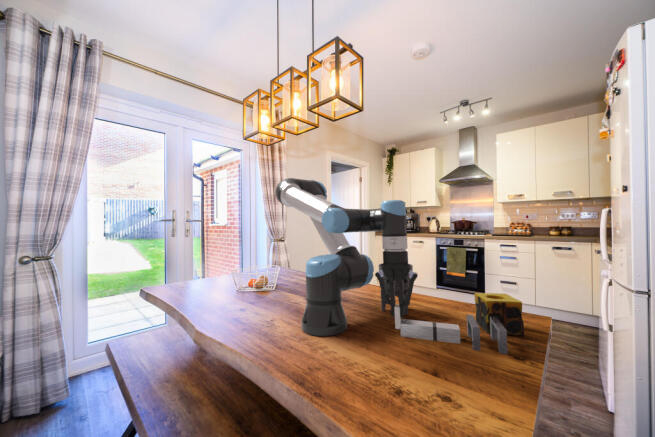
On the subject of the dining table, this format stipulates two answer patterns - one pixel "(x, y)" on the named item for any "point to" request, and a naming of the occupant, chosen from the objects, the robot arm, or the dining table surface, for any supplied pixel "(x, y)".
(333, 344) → the dining table surface
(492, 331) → the collar
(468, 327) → the collar
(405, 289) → the planter
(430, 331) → the banded white block
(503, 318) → the candle
